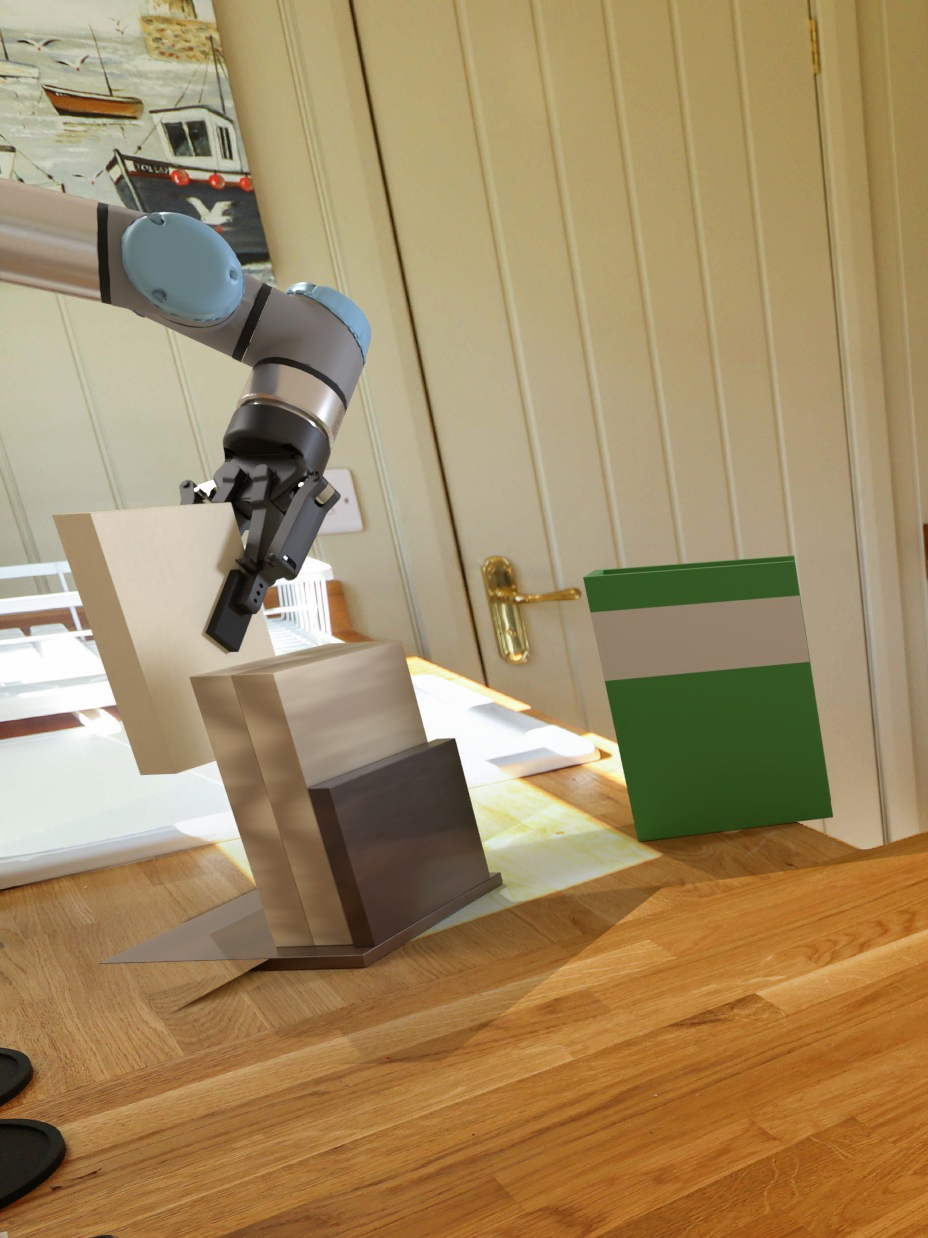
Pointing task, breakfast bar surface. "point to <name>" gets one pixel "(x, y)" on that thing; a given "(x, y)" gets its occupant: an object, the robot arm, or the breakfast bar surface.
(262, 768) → the book rack
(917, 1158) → the breakfast bar surface
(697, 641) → the hardback book
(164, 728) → the thin cream book
